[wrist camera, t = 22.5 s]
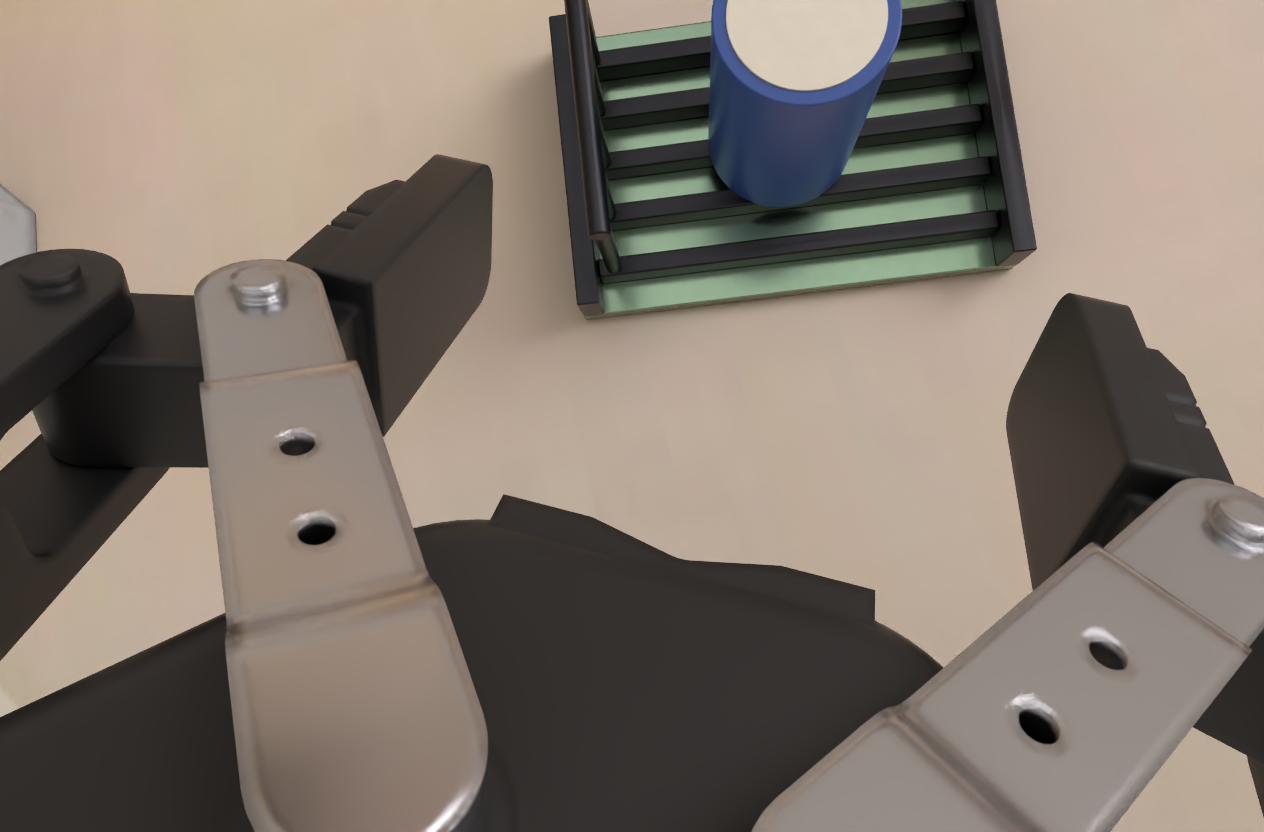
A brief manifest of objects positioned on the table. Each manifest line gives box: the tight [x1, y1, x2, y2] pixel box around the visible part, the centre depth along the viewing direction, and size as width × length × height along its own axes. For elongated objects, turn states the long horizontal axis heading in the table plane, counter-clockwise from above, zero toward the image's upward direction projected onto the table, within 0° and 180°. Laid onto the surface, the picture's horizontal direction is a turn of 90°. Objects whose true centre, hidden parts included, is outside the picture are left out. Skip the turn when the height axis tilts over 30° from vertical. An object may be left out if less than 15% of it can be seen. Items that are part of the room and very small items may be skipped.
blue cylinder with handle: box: [708, 0, 902, 207], centre depth 28 cm, size 5×10×8 cm, turn 166°
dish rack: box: [549, 0, 1037, 319], centre depth 30 cm, size 16×11×7 cm
